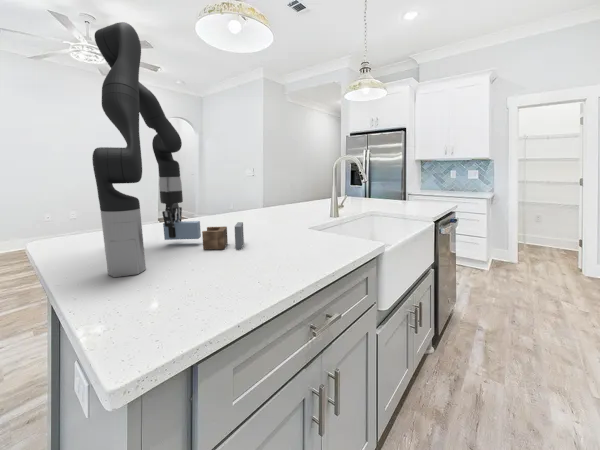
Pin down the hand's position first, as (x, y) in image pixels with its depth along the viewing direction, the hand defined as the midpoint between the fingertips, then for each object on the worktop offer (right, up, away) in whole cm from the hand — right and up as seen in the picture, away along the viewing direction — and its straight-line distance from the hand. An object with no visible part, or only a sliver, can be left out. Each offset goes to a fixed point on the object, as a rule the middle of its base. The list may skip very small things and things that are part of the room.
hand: (174, 236), depth 116 cm
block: (+16, -4, -3) cm, 17 cm away
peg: (+3, -1, 0) cm, 3 cm away
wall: (+24, -4, -2) cm, 25 cm away
